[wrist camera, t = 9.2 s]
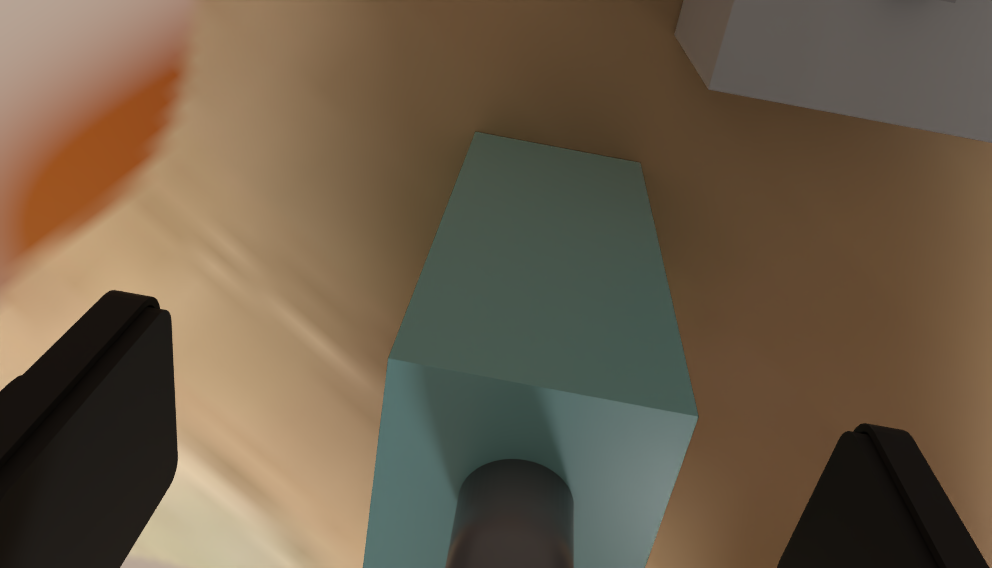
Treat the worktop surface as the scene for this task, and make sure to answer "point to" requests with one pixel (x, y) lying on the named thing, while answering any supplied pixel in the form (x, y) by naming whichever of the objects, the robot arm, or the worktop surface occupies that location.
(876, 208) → the worktop surface
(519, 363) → the teal rectangular bottle
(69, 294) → the worktop surface
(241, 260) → the worktop surface
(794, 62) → the grey flat box
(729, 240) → the worktop surface
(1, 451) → the robot arm
